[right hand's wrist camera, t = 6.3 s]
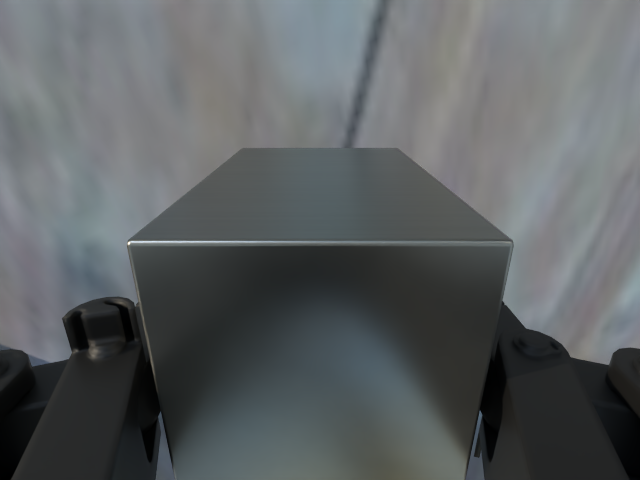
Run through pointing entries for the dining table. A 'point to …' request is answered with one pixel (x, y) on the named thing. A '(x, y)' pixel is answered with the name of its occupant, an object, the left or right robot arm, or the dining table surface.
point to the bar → (320, 318)
